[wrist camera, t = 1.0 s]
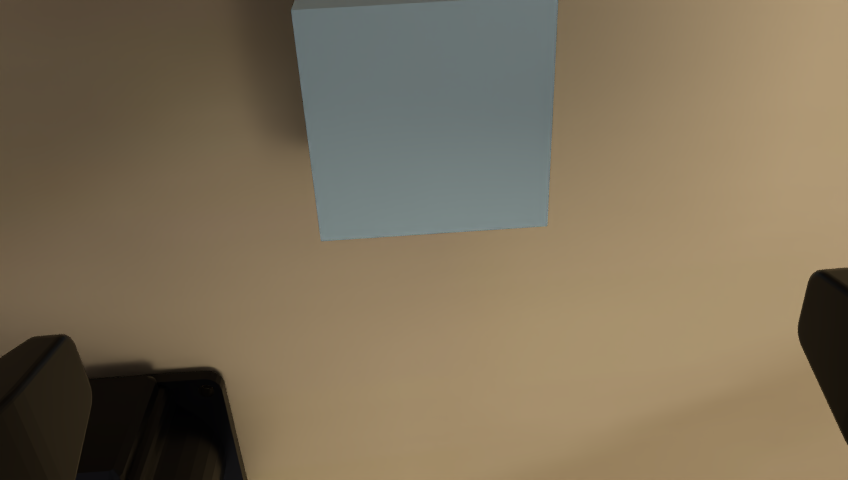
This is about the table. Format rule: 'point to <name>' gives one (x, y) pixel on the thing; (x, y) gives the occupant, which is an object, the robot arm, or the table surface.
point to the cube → (427, 113)
